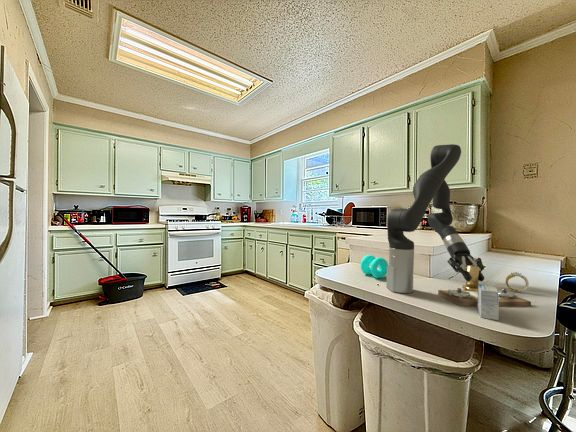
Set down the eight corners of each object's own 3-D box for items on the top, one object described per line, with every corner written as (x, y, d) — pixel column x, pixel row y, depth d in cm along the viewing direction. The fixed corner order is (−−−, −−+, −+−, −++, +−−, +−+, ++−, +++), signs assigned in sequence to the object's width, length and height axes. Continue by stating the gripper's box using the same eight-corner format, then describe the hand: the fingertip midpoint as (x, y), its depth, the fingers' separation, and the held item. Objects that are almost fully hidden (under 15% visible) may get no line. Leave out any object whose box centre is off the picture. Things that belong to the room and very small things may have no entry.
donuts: (374, 273, 129) (374, 253, 129) (389, 277, 120) (389, 257, 120) (359, 274, 125) (359, 255, 125) (373, 280, 116) (373, 258, 116)
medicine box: (498, 321, 74) (499, 292, 74) (479, 317, 76) (480, 289, 76) (494, 312, 81) (495, 285, 80) (477, 309, 83) (477, 283, 83)
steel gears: (456, 298, 88) (456, 291, 88) (443, 292, 95) (443, 285, 95) (522, 298, 89) (522, 291, 89) (505, 292, 95) (505, 285, 95)
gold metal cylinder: (469, 292, 100) (470, 267, 99) (458, 287, 106) (459, 264, 106) (485, 292, 100) (486, 267, 100) (473, 287, 106) (474, 264, 106)
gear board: (460, 306, 85) (460, 300, 85) (438, 294, 97) (438, 289, 97) (530, 305, 86) (531, 300, 86) (500, 294, 98) (500, 289, 98)
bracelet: (505, 291, 102) (506, 271, 102) (504, 289, 105) (505, 270, 104) (529, 294, 98) (529, 274, 98) (527, 292, 101) (527, 272, 101)
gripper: (444, 241, 110) (463, 275, 98) (476, 241, 110) (499, 275, 98) (436, 251, 115) (453, 284, 103) (466, 251, 115) (487, 285, 104)
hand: (475, 280), depth 101 cm, fingers open, 4 cm apart
